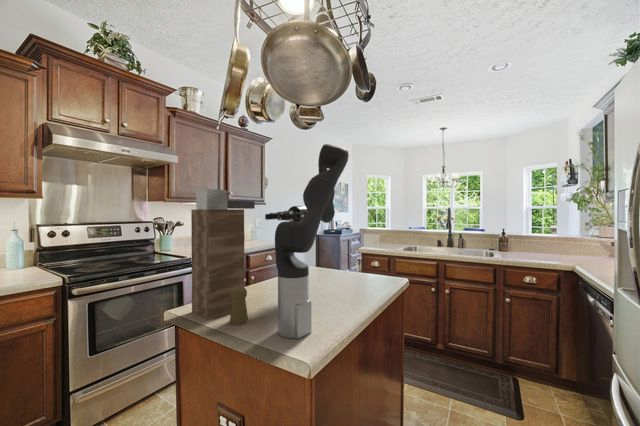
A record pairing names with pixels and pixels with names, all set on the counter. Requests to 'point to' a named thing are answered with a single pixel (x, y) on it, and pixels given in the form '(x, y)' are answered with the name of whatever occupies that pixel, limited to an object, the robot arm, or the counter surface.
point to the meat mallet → (219, 200)
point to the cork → (238, 307)
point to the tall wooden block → (216, 259)
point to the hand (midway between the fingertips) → (273, 217)
